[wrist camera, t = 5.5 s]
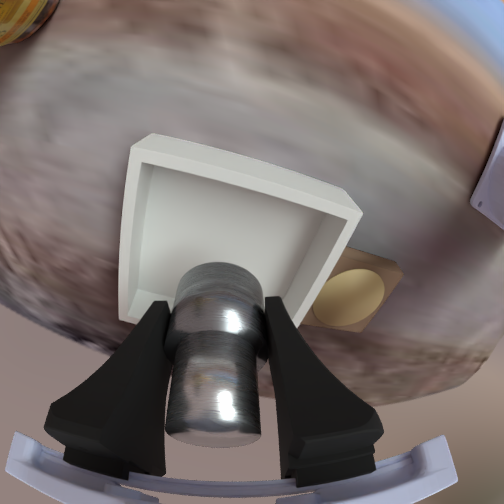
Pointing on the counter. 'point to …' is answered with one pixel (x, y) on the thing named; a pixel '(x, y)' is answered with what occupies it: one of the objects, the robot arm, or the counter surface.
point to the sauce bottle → (23, 18)
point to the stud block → (353, 291)
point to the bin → (225, 224)
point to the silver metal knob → (216, 356)
